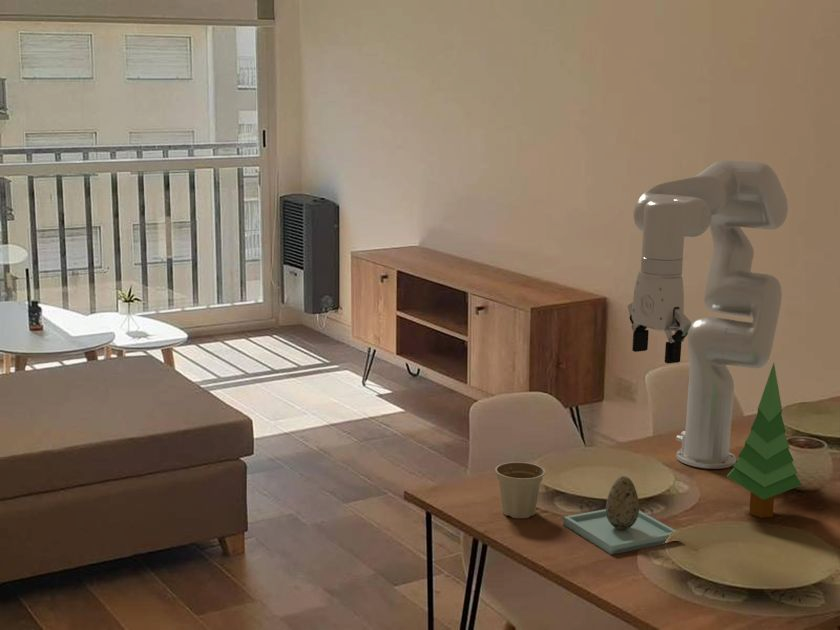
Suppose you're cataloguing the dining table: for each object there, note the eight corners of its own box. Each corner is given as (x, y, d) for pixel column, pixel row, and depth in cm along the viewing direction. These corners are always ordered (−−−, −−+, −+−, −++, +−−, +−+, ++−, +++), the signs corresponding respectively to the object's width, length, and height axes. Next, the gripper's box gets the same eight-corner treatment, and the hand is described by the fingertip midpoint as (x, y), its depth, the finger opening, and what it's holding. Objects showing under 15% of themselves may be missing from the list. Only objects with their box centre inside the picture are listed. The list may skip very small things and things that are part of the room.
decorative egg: (599, 529, 215) (602, 477, 213) (613, 519, 220) (616, 468, 218) (629, 537, 212) (632, 484, 210) (642, 527, 217) (646, 475, 215)
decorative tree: (707, 503, 232) (718, 355, 226) (778, 497, 236) (791, 351, 230) (742, 529, 219) (755, 372, 213) (816, 523, 223) (831, 369, 217)
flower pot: (510, 525, 218) (512, 481, 217) (484, 508, 227) (486, 465, 225) (552, 517, 223) (554, 474, 221) (526, 501, 231) (527, 459, 229)
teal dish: (563, 524, 219) (563, 516, 219) (628, 512, 226) (629, 504, 226) (611, 554, 206) (611, 546, 206) (679, 540, 213) (679, 532, 213)
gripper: (617, 260, 224) (612, 348, 228) (675, 276, 209) (669, 369, 213) (648, 258, 228) (643, 345, 231) (708, 273, 213) (701, 365, 216)
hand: (655, 356), depth 222 cm, fingers open, 9 cm apart
